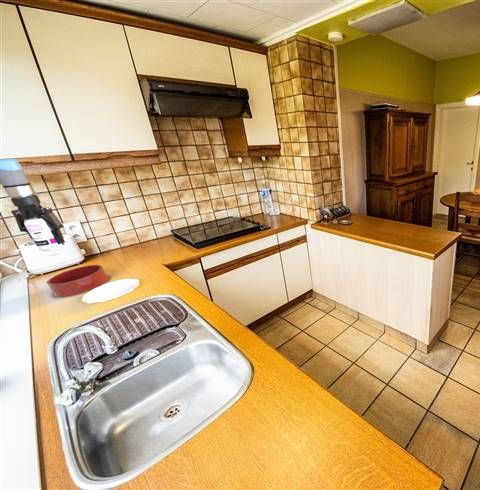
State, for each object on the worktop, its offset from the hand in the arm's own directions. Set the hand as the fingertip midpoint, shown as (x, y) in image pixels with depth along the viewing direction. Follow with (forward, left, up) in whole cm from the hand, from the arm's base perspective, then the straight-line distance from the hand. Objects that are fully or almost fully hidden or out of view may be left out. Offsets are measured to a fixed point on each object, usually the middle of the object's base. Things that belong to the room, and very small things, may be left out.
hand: (51, 244), depth 123 cm
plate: (+22, -8, -25) cm, 34 cm away
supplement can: (0, 0, -2) cm, 2 cm away
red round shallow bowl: (0, +3, -25) cm, 25 cm away
